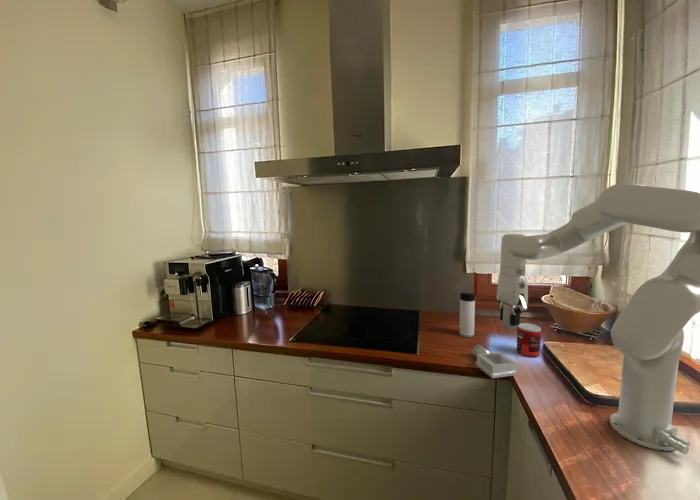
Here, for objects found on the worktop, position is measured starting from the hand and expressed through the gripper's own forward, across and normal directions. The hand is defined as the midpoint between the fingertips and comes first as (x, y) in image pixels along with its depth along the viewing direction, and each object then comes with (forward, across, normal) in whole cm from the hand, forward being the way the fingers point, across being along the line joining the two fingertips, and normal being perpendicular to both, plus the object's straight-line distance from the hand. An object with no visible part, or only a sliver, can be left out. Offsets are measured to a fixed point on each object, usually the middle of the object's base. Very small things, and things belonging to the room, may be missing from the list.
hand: (509, 321), depth 106 cm
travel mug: (+19, +32, -3) cm, 37 cm away
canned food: (+18, +10, -17) cm, 27 cm away
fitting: (+18, +5, +3) cm, 19 cm away
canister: (+1, 0, 0) cm, 1 cm away
